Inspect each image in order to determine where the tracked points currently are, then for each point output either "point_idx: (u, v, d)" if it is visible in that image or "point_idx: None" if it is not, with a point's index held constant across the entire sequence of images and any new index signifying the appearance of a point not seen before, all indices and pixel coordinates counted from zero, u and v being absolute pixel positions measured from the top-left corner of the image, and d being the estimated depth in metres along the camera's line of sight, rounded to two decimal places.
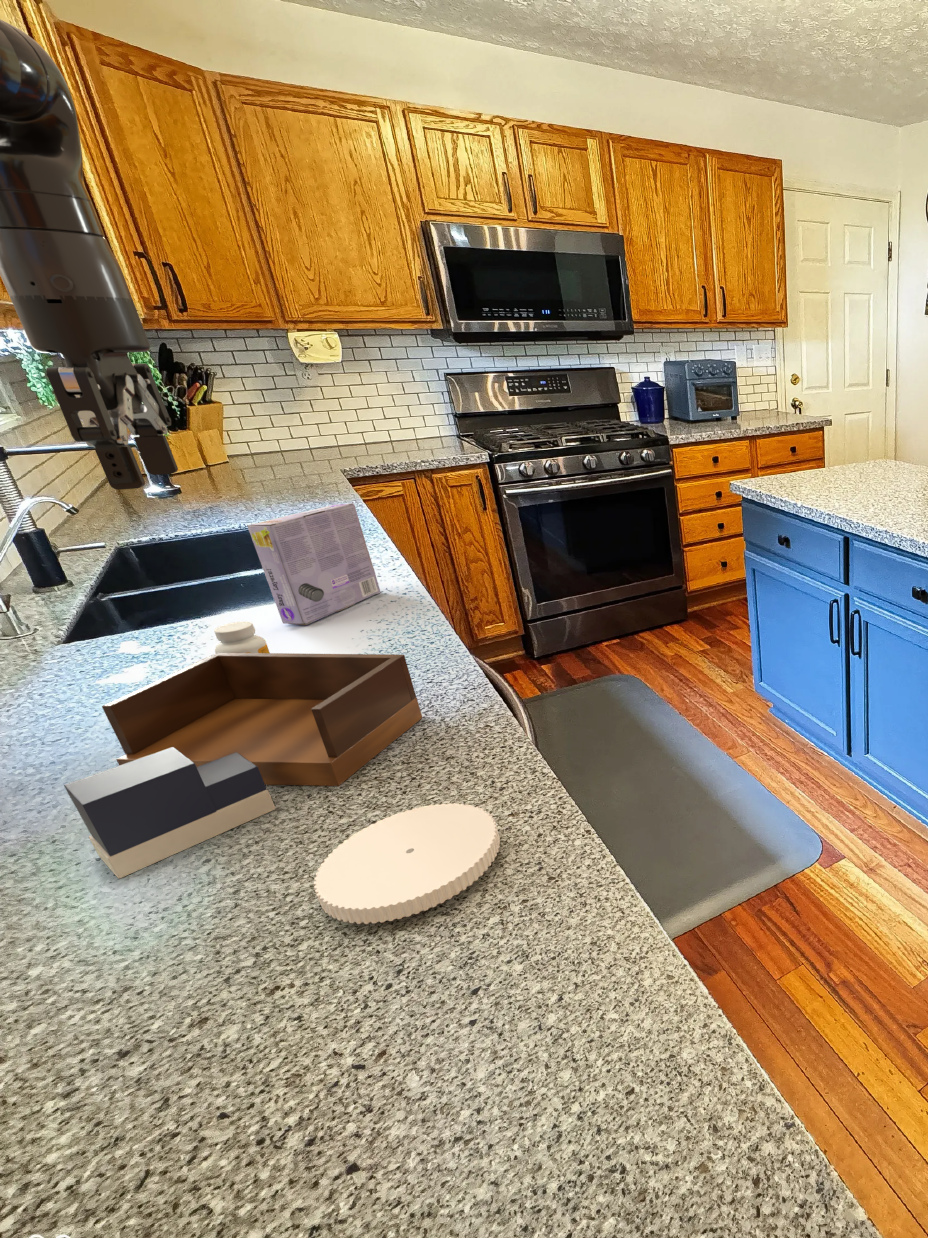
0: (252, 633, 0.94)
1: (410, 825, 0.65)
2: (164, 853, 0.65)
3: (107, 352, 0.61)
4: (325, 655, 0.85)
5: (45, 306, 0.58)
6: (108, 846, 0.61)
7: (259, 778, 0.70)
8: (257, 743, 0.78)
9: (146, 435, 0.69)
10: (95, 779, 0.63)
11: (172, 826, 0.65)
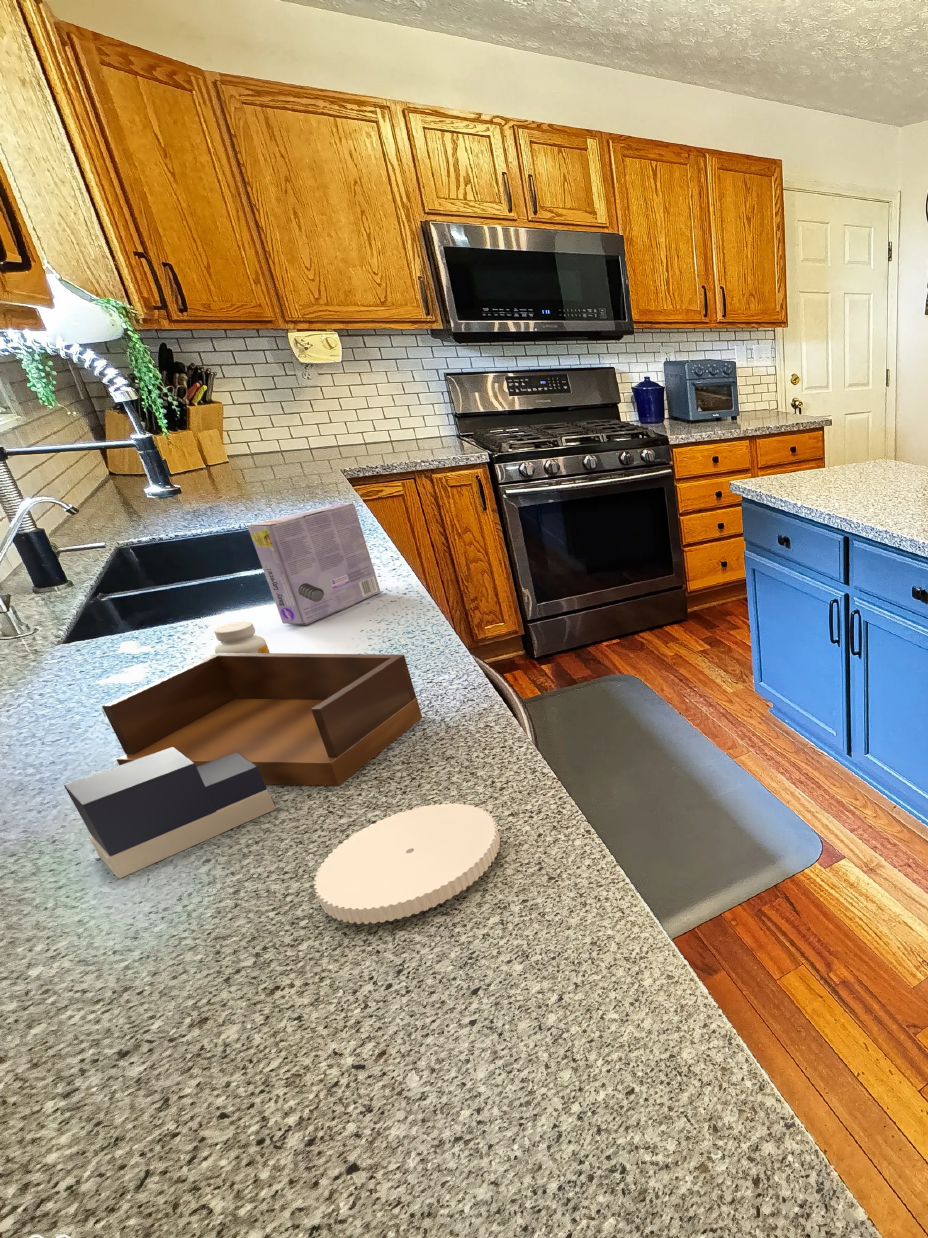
0: (252, 633, 0.94)
1: (410, 825, 0.65)
2: (164, 853, 0.65)
3: None
4: (325, 655, 0.85)
5: None
6: (108, 846, 0.61)
7: (259, 778, 0.70)
8: (257, 743, 0.78)
9: None
10: (95, 779, 0.63)
11: (172, 826, 0.65)
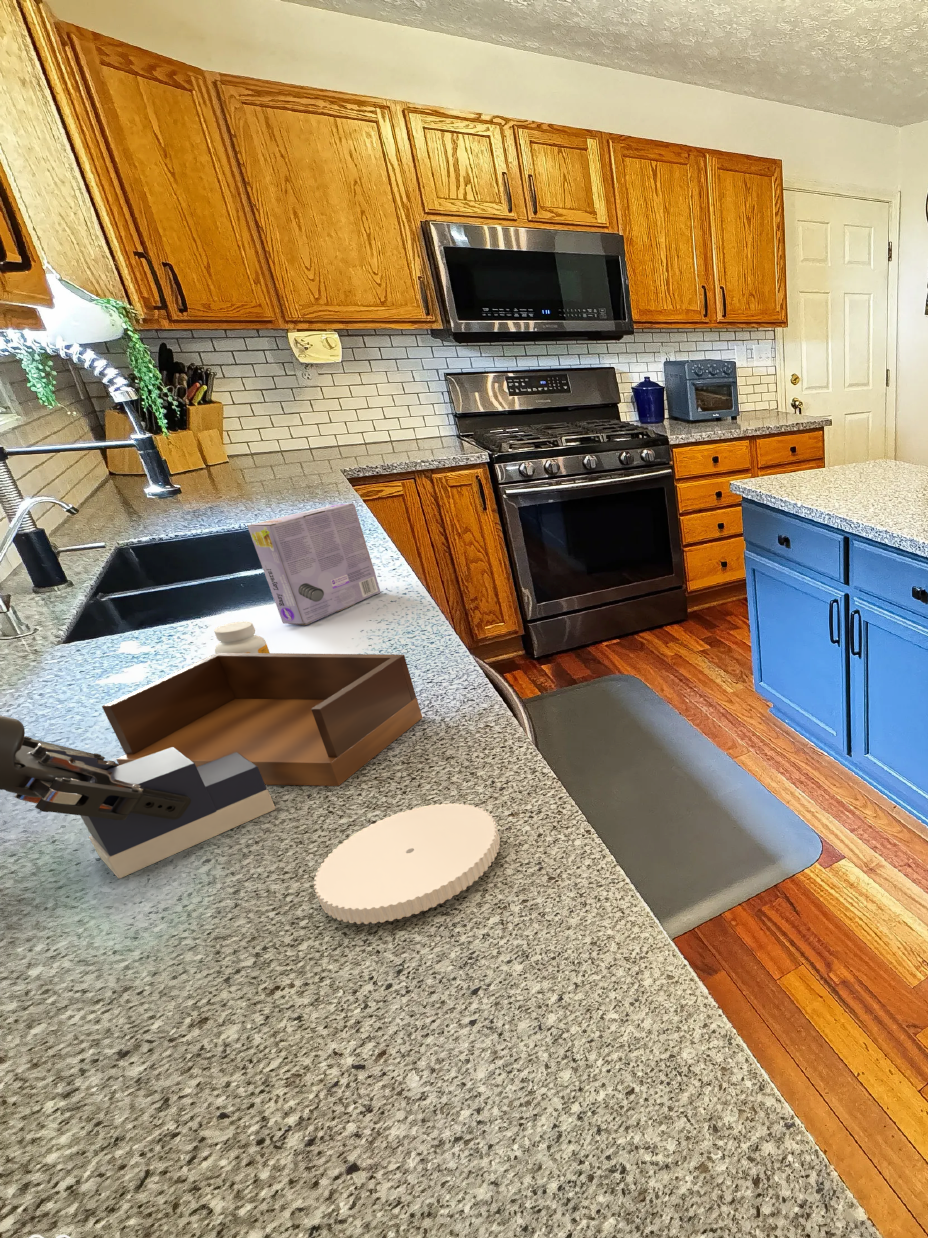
0: (252, 633, 0.94)
1: (410, 825, 0.65)
2: (164, 853, 0.65)
3: None
4: (325, 655, 0.85)
5: None
6: (108, 846, 0.61)
7: (259, 778, 0.70)
8: (257, 743, 0.78)
9: None
10: None
11: (172, 826, 0.65)
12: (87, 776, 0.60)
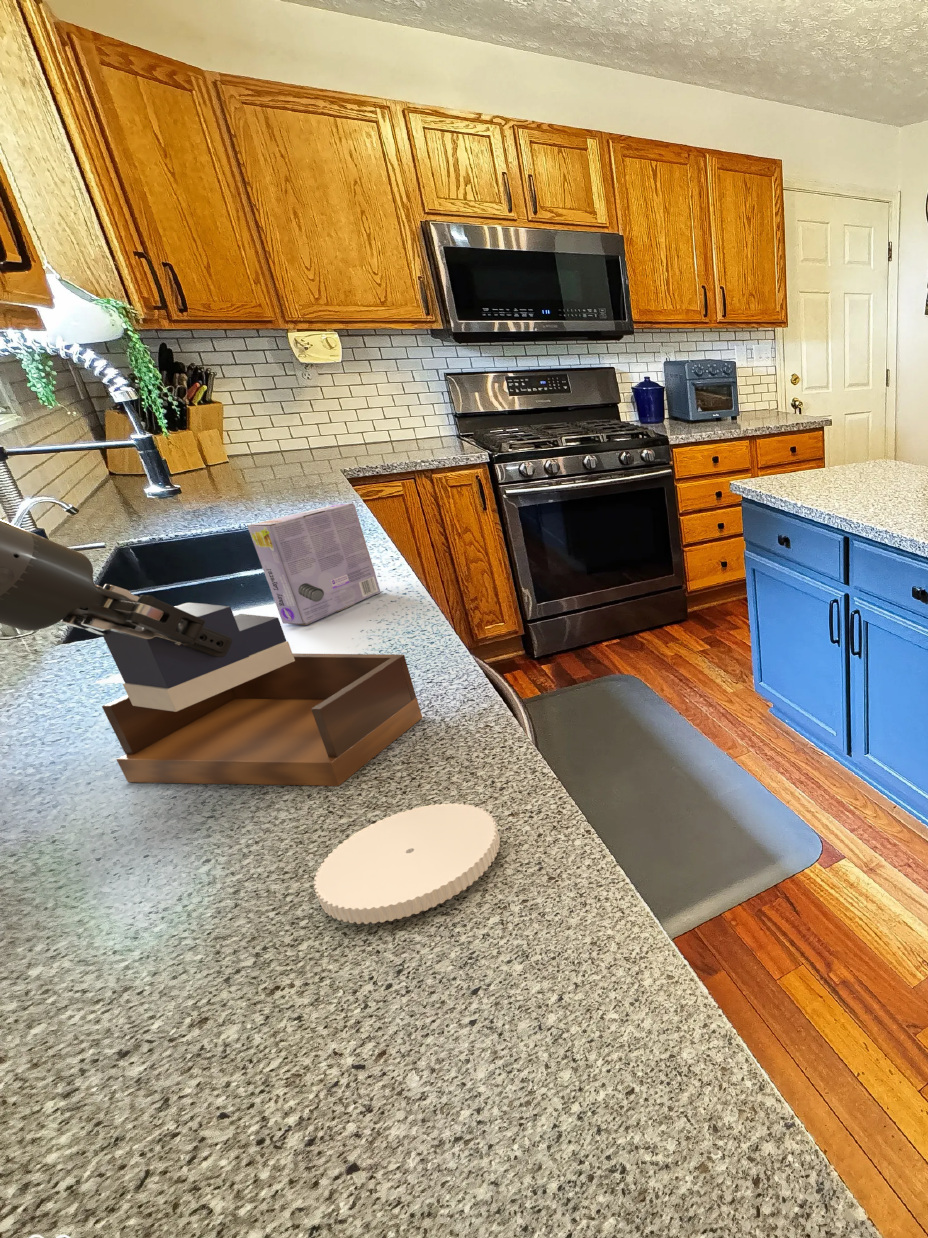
0: None
1: (410, 825, 0.65)
2: (210, 691, 0.69)
3: None
4: (325, 655, 0.85)
5: None
6: (166, 678, 0.66)
7: (280, 629, 0.76)
8: (257, 743, 0.78)
9: None
10: None
11: (215, 665, 0.69)
12: None
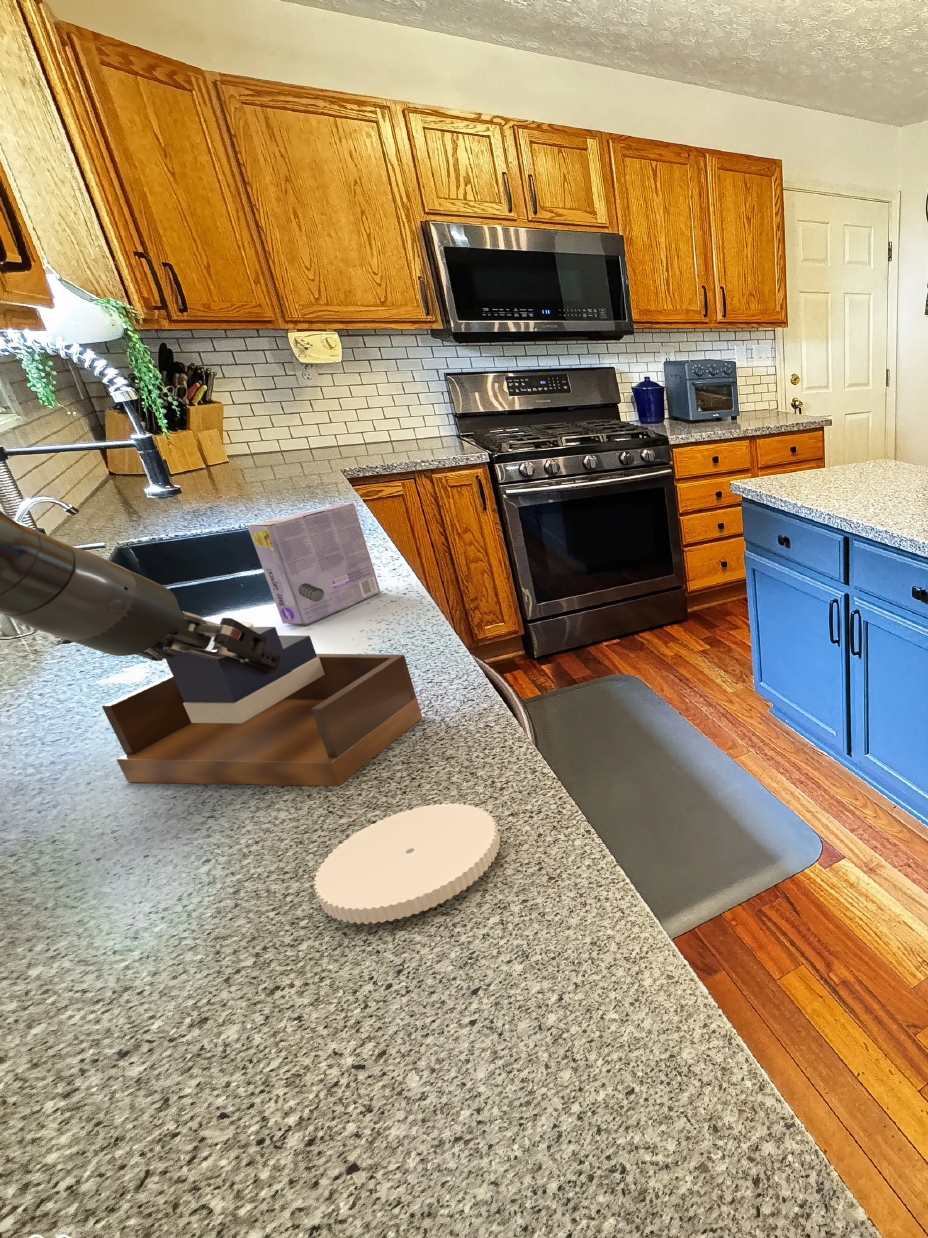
0: None
1: (410, 825, 0.65)
2: (265, 704, 0.77)
3: None
4: (325, 655, 0.85)
5: None
6: (233, 693, 0.73)
7: (312, 646, 0.83)
8: (257, 743, 0.78)
9: None
10: None
11: (268, 681, 0.77)
12: None
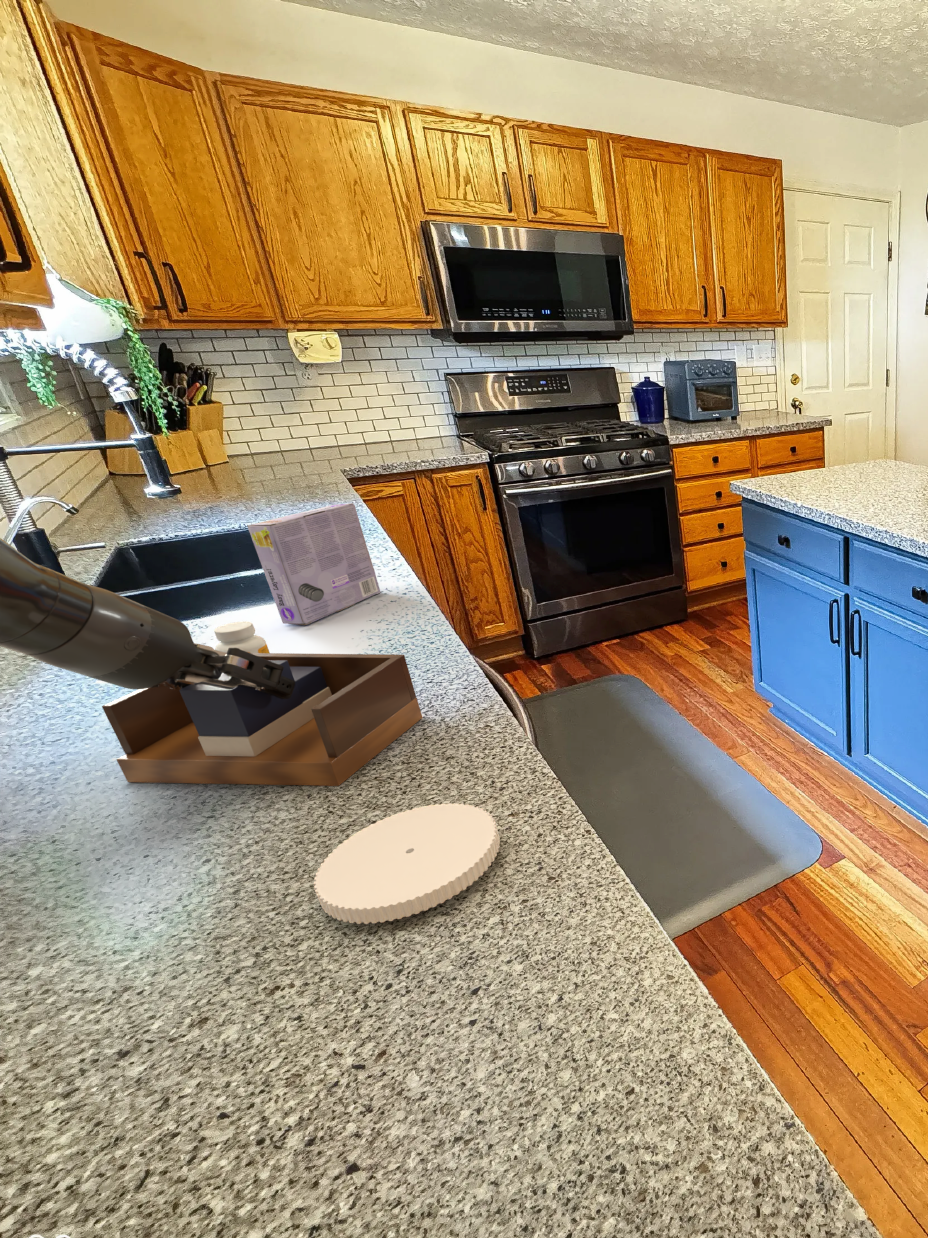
0: (252, 633, 0.94)
1: (410, 825, 0.65)
2: (278, 736, 0.78)
3: None
4: (325, 655, 0.85)
5: None
6: (247, 727, 0.75)
7: (322, 677, 0.85)
8: None
9: None
10: None
11: (280, 713, 0.79)
12: None
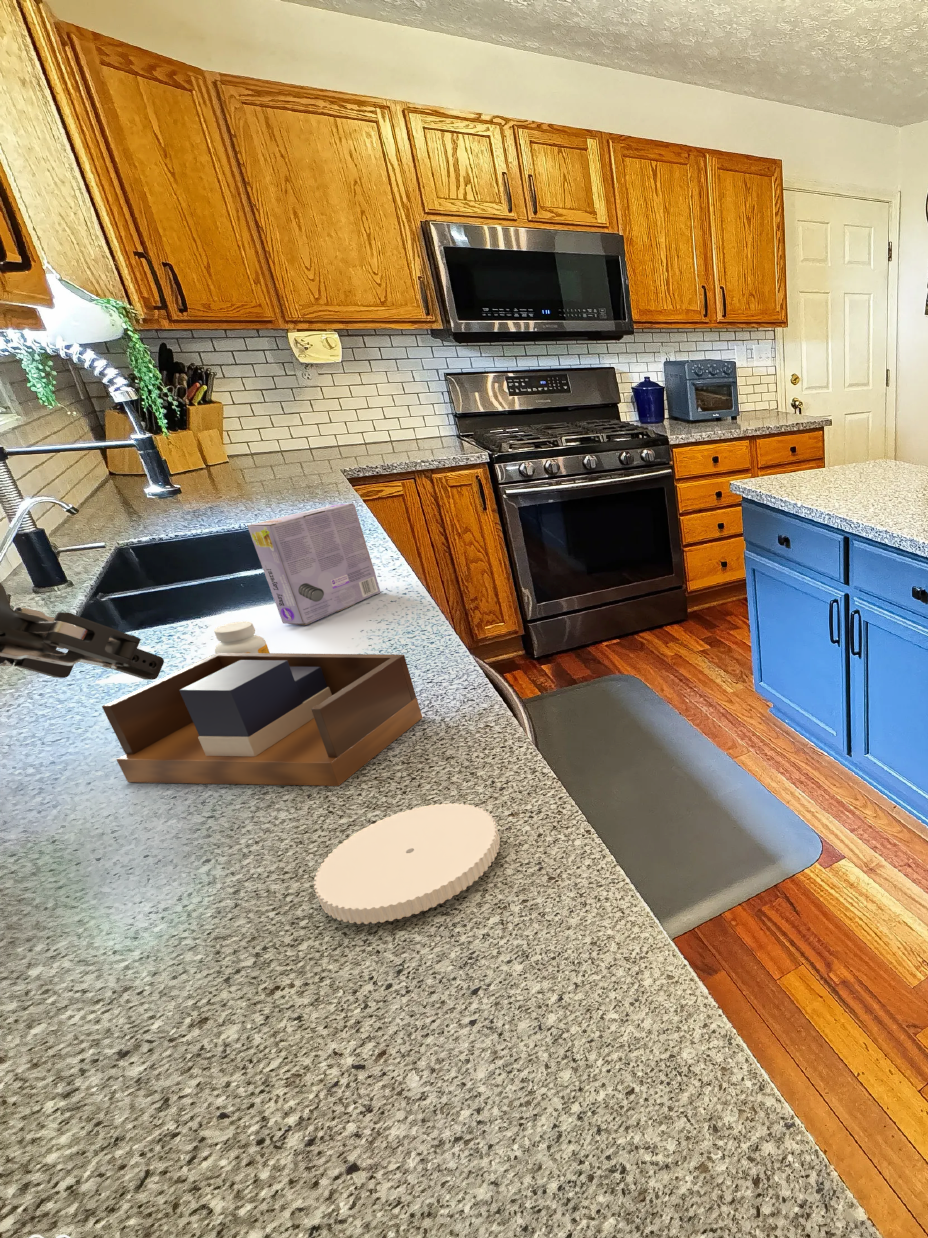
0: (252, 633, 0.94)
1: (410, 825, 0.65)
2: (278, 736, 0.78)
3: None
4: (325, 655, 0.85)
5: None
6: (247, 727, 0.75)
7: (322, 677, 0.85)
8: None
9: None
10: (205, 682, 0.74)
11: (280, 713, 0.79)
12: None
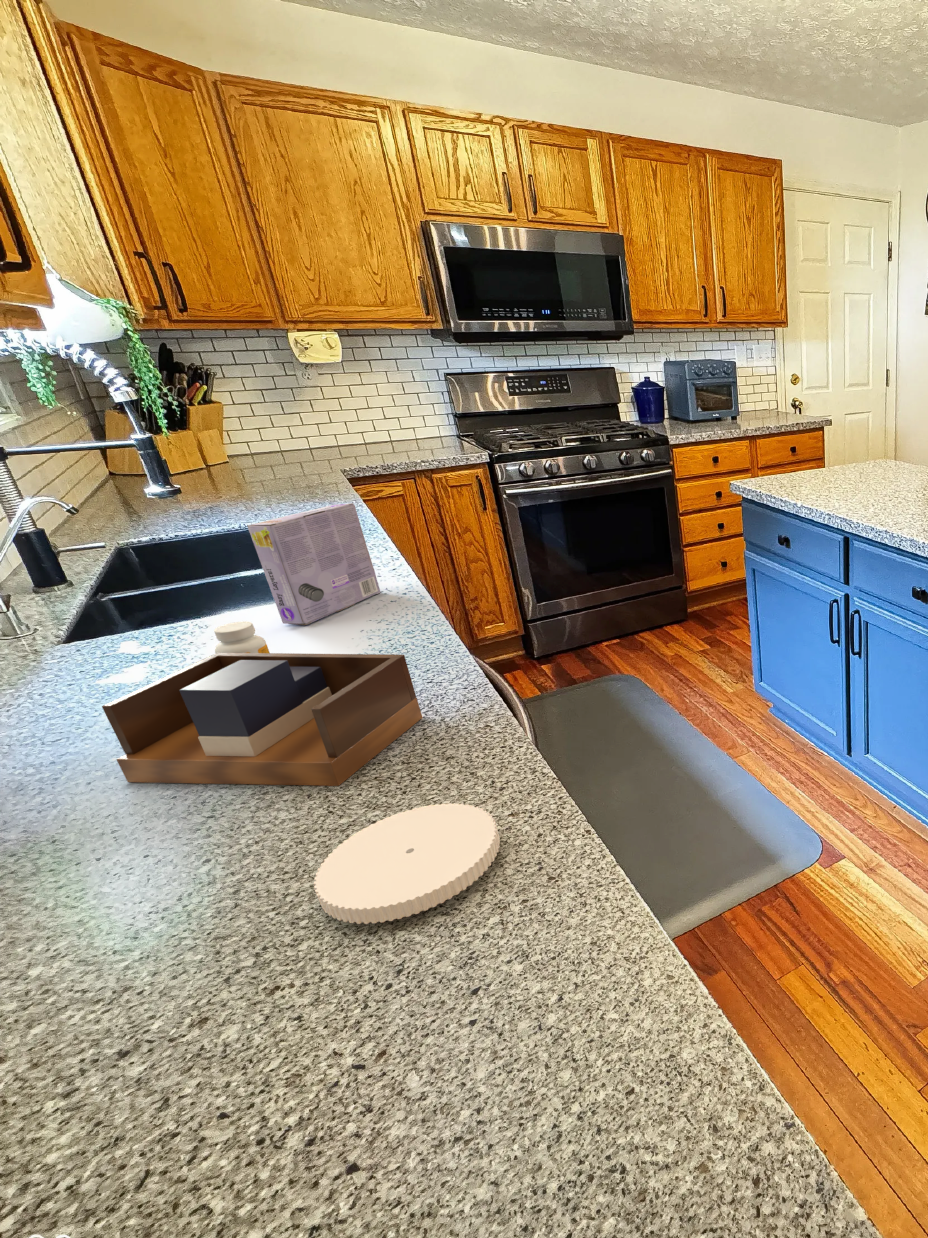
0: (252, 633, 0.94)
1: (410, 825, 0.65)
2: (278, 736, 0.78)
3: None
4: (325, 655, 0.85)
5: None
6: (247, 727, 0.75)
7: (322, 677, 0.85)
8: None
9: None
10: (205, 682, 0.74)
11: (280, 713, 0.79)
12: None
